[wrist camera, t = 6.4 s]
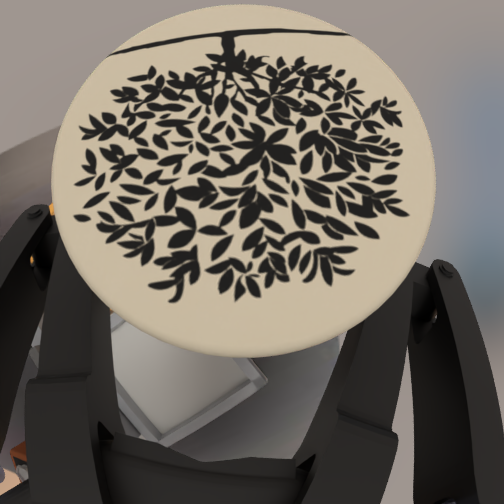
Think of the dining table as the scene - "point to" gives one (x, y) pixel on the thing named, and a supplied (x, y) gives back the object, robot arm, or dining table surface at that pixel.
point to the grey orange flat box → (169, 383)
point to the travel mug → (243, 181)
